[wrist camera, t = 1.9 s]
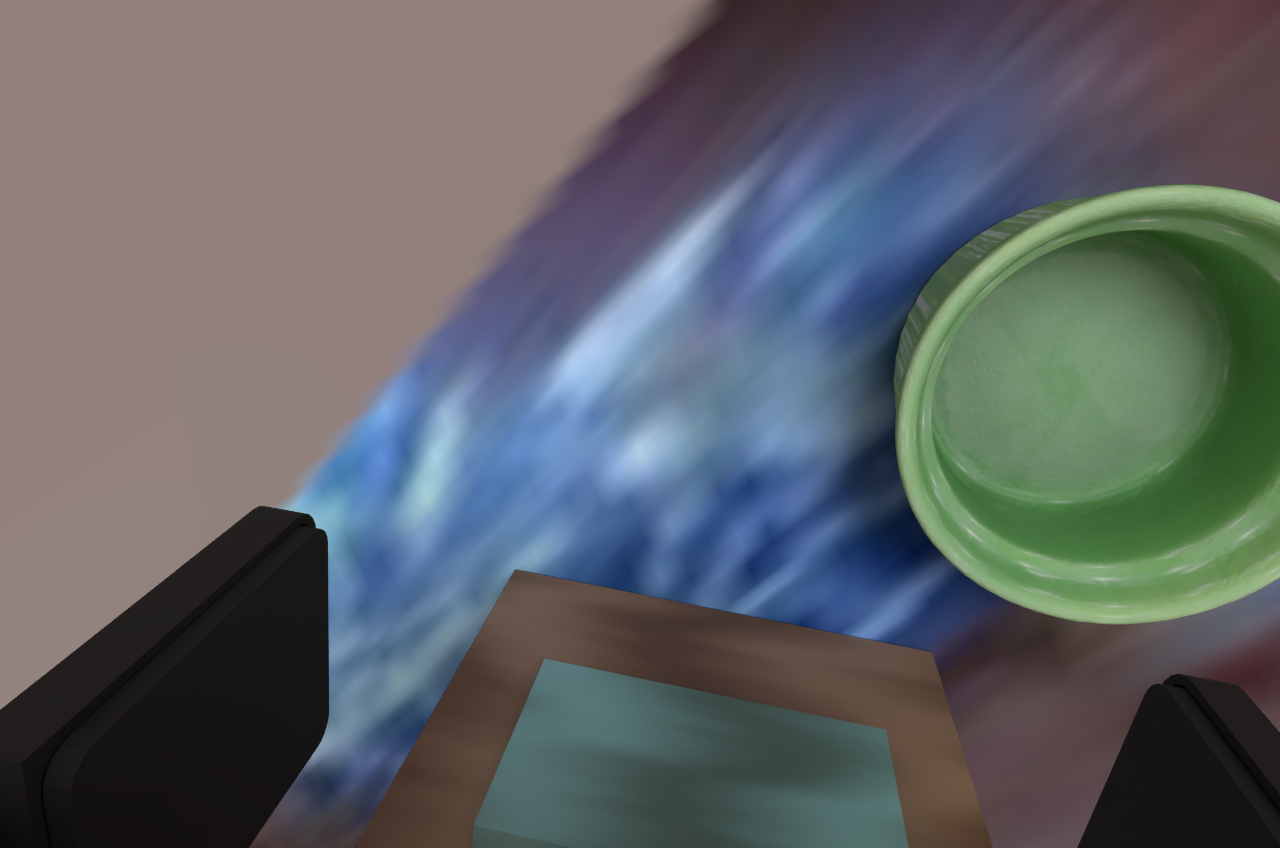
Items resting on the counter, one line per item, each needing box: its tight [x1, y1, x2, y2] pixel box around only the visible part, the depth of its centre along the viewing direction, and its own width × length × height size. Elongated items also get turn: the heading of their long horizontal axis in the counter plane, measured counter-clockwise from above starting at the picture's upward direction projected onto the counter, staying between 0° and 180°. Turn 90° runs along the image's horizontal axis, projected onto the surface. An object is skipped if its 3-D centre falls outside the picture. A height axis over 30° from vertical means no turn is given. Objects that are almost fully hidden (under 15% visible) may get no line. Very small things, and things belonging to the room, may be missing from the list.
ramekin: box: [894, 184, 1280, 624], centre depth 18 cm, size 9×9×4 cm
